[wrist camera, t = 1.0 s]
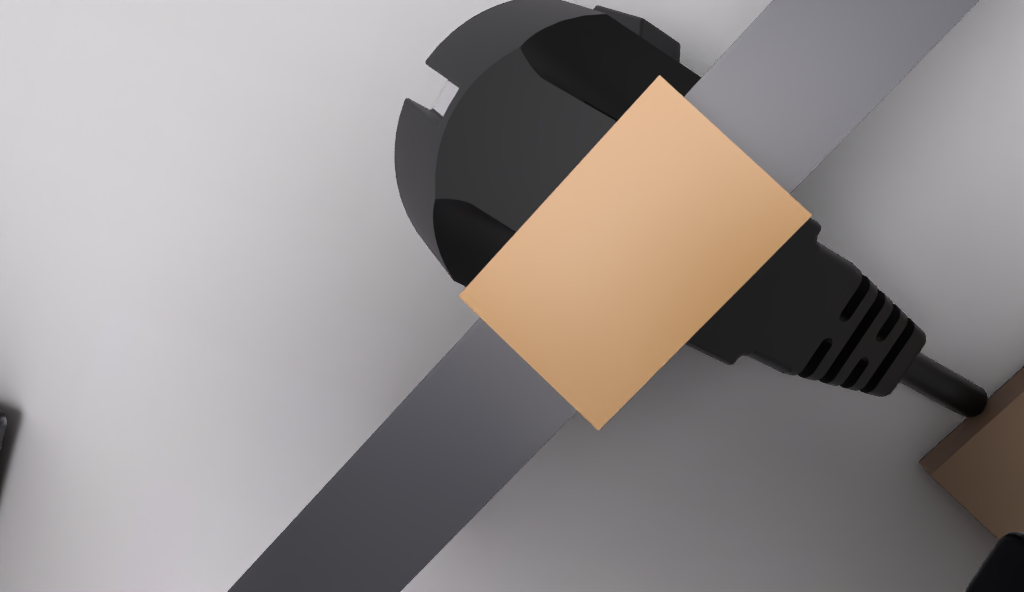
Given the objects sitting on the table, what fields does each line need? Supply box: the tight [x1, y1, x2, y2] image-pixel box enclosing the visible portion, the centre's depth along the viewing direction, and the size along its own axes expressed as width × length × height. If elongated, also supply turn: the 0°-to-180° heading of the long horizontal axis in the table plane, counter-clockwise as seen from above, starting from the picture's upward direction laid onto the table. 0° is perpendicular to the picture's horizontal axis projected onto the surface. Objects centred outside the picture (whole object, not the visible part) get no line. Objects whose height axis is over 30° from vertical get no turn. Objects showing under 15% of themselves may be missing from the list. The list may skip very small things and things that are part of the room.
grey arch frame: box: [228, 0, 979, 592], centre depth 15 cm, size 2×16×10 cm, turn 138°
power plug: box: [395, 0, 987, 417], centre depth 19 cm, size 6×8×12 cm
